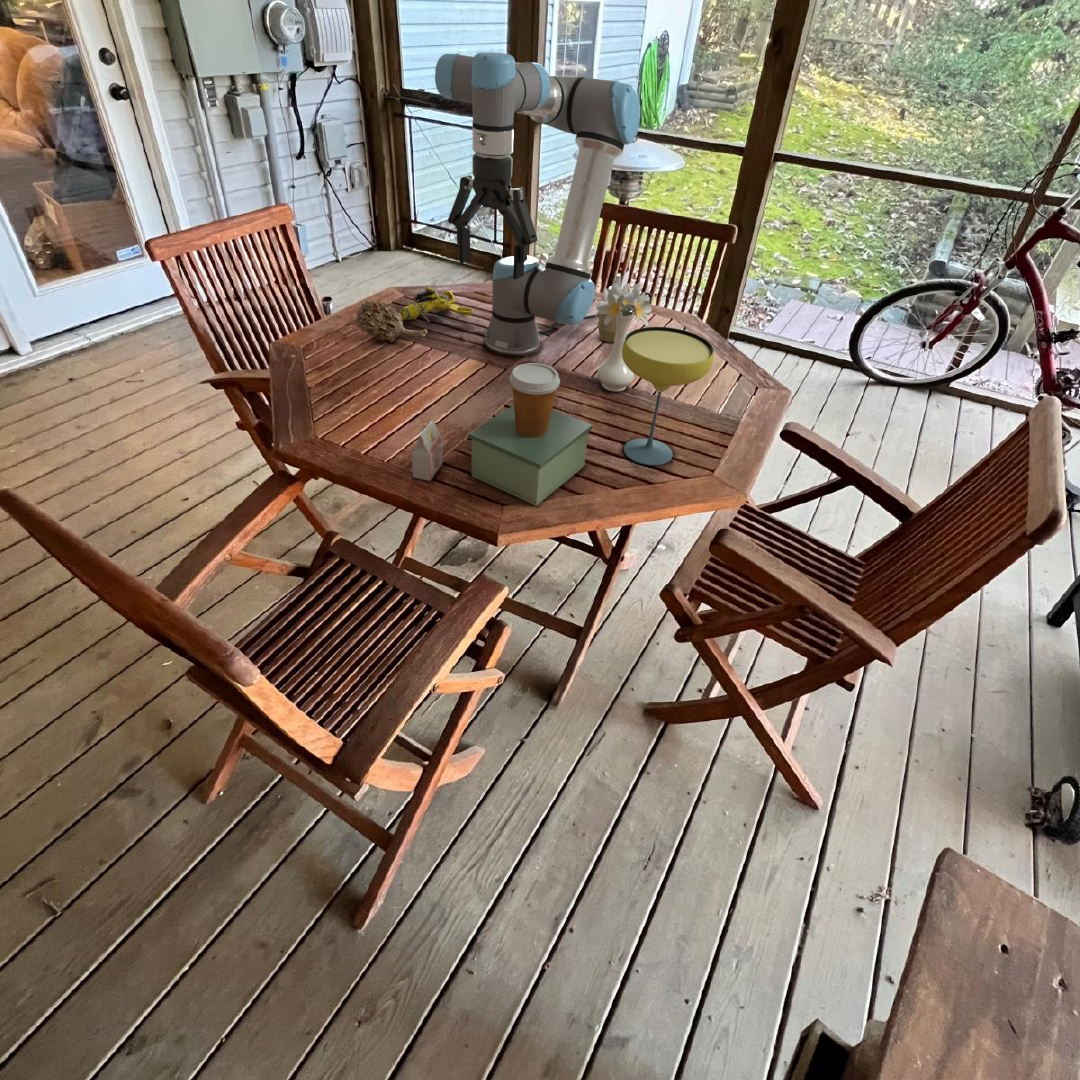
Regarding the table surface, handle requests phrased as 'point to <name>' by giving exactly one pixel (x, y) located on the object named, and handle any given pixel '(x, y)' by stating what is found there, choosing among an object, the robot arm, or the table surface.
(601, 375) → the flower vase
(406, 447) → the table surface
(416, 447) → the white gable carton
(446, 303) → the sprinkler
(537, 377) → the disposable coffee cup
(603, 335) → the squeeze bottle
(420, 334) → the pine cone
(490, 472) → the green lidded box
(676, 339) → the cocktail glass
